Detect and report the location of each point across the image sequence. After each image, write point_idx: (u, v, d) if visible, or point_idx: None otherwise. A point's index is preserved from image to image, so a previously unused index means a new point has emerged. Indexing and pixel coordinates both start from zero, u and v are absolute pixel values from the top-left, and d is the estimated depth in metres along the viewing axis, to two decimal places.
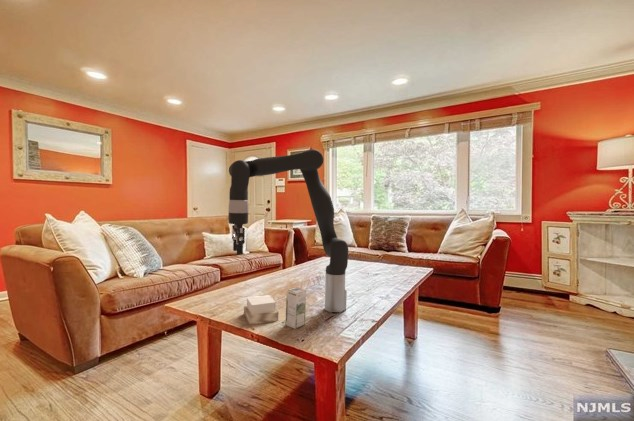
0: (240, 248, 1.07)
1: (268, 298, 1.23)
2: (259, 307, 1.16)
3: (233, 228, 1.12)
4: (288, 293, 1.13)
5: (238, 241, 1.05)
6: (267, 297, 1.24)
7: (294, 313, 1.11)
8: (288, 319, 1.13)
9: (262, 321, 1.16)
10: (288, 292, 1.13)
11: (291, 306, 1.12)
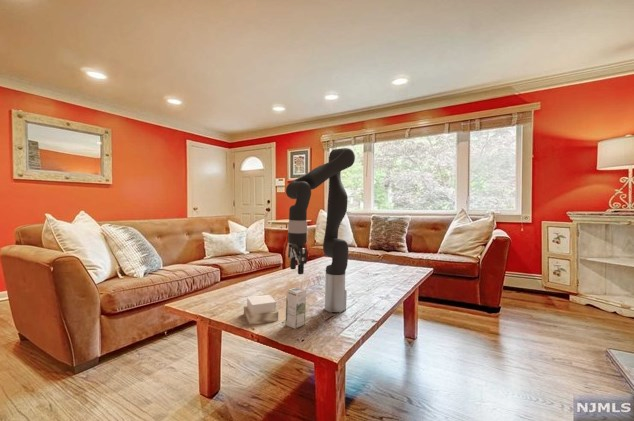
0: (301, 268, 1.09)
1: (268, 298, 1.23)
2: (259, 307, 1.16)
3: (292, 247, 1.14)
4: (288, 293, 1.13)
5: (301, 261, 1.07)
6: (267, 297, 1.24)
7: (294, 313, 1.11)
8: (288, 319, 1.13)
9: (262, 320, 1.16)
10: (288, 292, 1.13)
11: (291, 306, 1.12)
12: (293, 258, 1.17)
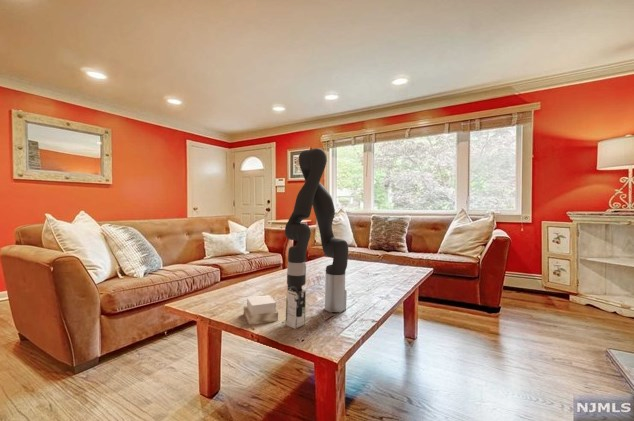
0: (300, 311, 1.10)
1: (268, 298, 1.23)
2: (259, 308, 1.16)
3: (291, 288, 1.14)
4: (288, 293, 1.13)
5: (299, 305, 1.07)
6: (267, 297, 1.24)
7: (294, 313, 1.11)
8: (288, 319, 1.13)
9: (262, 321, 1.15)
10: (288, 292, 1.13)
11: (291, 306, 1.12)
12: None
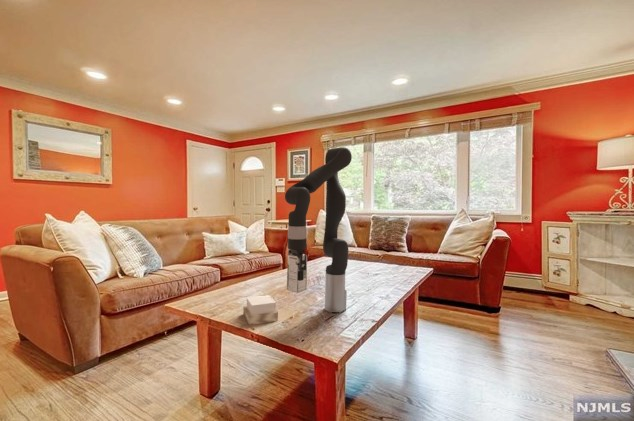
0: (301, 274, 1.09)
1: (268, 298, 1.23)
2: (259, 308, 1.16)
3: (292, 253, 1.14)
4: (289, 258, 1.12)
5: (300, 268, 1.07)
6: (267, 297, 1.24)
7: (296, 277, 1.10)
8: (289, 284, 1.12)
9: (261, 321, 1.15)
10: (289, 257, 1.12)
11: (292, 270, 1.11)
12: None
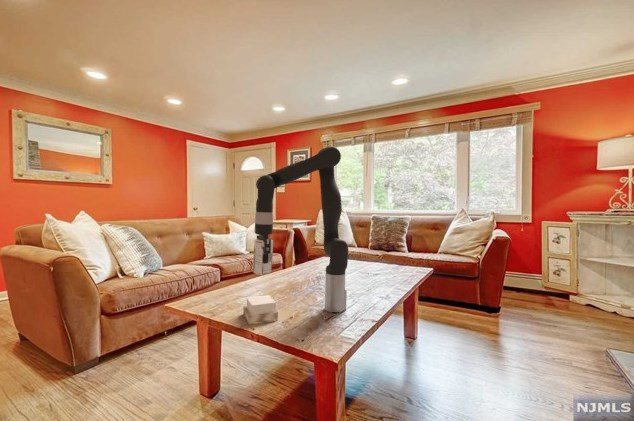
0: (266, 257, 1.16)
1: (268, 298, 1.23)
2: (259, 308, 1.16)
3: (259, 238, 1.20)
4: (255, 242, 1.19)
5: (265, 251, 1.13)
6: (267, 297, 1.24)
7: (261, 260, 1.17)
8: (255, 267, 1.19)
9: (261, 321, 1.15)
10: (255, 241, 1.19)
11: (258, 254, 1.18)
12: None
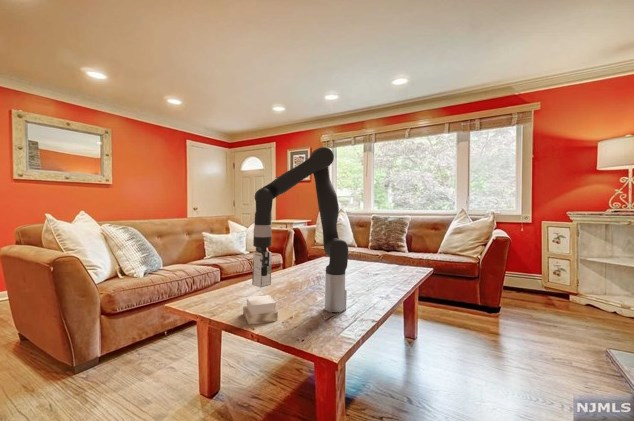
0: (265, 270, 1.16)
1: (268, 298, 1.23)
2: (259, 308, 1.16)
3: (257, 250, 1.21)
4: (254, 254, 1.19)
5: (263, 264, 1.14)
6: (267, 297, 1.24)
7: (259, 273, 1.17)
8: (254, 279, 1.19)
9: (261, 321, 1.15)
10: (254, 254, 1.19)
11: (257, 266, 1.18)
12: None
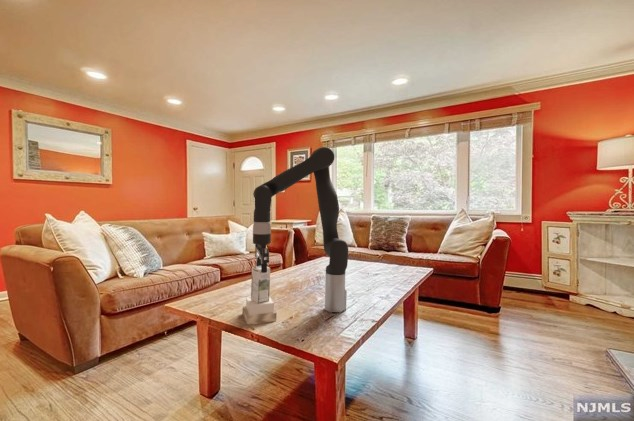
0: (265, 267, 1.16)
1: None
2: (257, 308, 1.15)
3: (257, 248, 1.21)
4: (253, 270, 1.19)
5: (263, 261, 1.14)
6: None
7: (257, 289, 1.17)
8: (253, 294, 1.19)
9: (260, 321, 1.15)
10: (253, 269, 1.19)
11: (255, 282, 1.18)
12: None
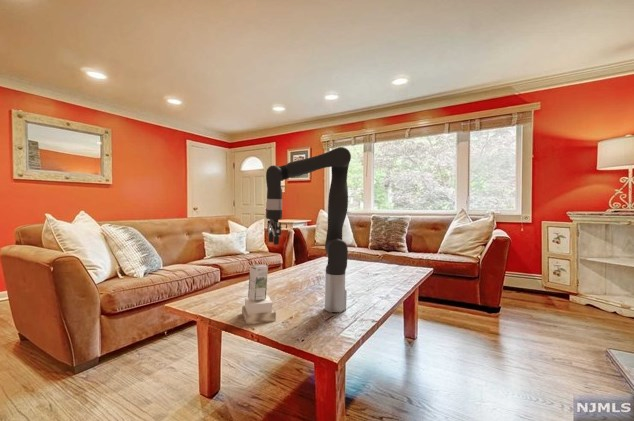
0: (277, 239, 1.28)
1: (266, 298, 1.23)
2: (255, 307, 1.16)
3: (269, 223, 1.33)
4: (251, 267, 1.21)
5: (276, 233, 1.26)
6: None
7: (254, 286, 1.18)
8: (250, 292, 1.20)
9: (259, 320, 1.16)
10: (251, 267, 1.21)
11: (252, 279, 1.19)
12: (271, 232, 1.37)
